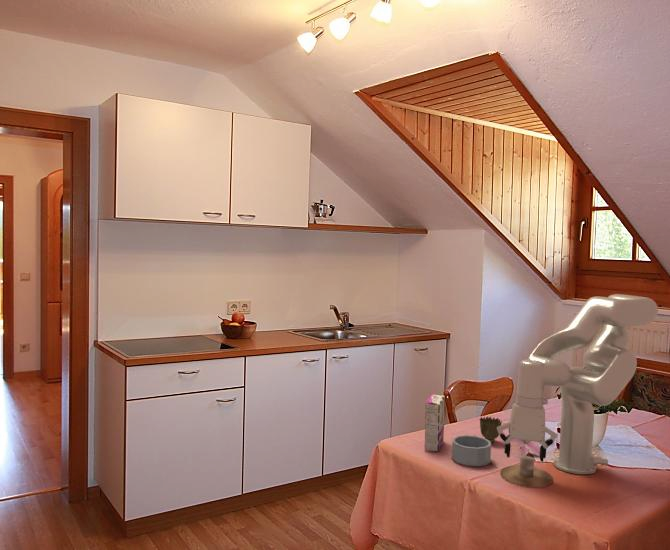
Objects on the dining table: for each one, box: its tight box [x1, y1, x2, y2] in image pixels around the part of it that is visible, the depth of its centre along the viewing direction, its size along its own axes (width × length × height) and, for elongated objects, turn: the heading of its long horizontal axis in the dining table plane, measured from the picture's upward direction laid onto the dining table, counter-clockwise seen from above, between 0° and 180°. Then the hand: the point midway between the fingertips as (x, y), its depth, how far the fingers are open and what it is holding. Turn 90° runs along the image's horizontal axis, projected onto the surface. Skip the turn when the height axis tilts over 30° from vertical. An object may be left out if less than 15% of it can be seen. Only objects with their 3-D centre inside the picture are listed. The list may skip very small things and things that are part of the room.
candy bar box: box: [424, 394, 446, 453], centre depth 211 cm, size 11×5×16 cm, turn 161°
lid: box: [500, 455, 554, 488], centre depth 187 cm, size 15×15×6 cm
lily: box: [510, 438, 546, 457], centre depth 208 cm, size 12×12×10 cm
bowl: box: [451, 434, 492, 468], centre depth 200 cm, size 12×12×6 cm
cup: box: [479, 416, 503, 444], centre depth 217 cm, size 8×7×8 cm
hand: (524, 458), depth 186 cm, fingers open, 9 cm apart
